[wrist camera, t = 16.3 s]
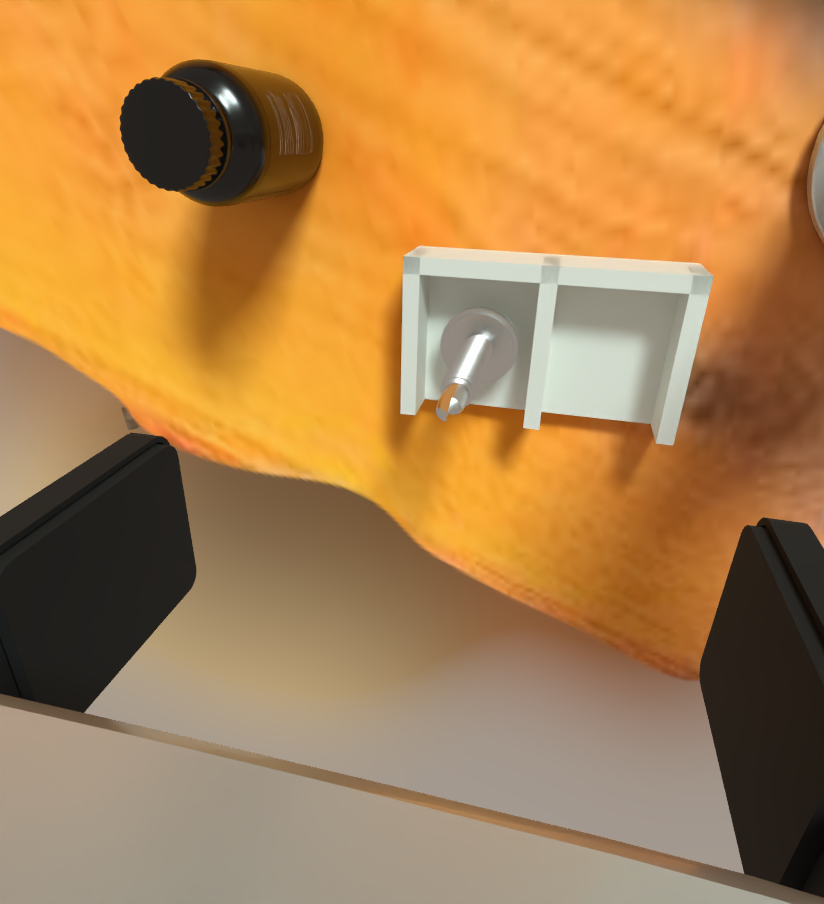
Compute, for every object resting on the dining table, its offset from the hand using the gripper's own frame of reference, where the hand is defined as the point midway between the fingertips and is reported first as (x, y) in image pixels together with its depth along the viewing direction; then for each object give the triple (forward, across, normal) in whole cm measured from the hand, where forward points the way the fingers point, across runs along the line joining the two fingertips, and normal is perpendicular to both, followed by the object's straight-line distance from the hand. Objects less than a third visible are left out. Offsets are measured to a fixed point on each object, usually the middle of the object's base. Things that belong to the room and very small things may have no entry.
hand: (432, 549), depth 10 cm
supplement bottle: (+32, +17, -6) cm, 37 cm away
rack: (+32, -1, +5) cm, 33 cm away
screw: (+31, +3, +5) cm, 32 cm away
